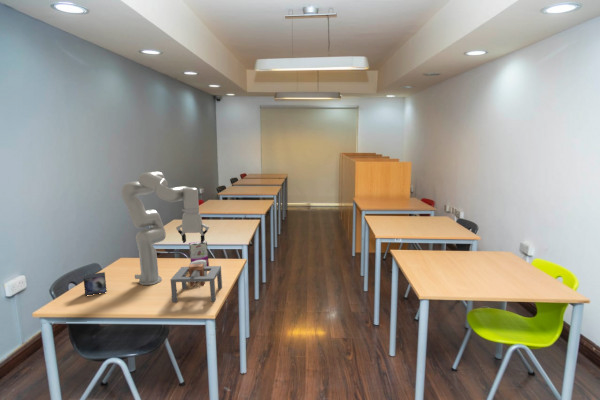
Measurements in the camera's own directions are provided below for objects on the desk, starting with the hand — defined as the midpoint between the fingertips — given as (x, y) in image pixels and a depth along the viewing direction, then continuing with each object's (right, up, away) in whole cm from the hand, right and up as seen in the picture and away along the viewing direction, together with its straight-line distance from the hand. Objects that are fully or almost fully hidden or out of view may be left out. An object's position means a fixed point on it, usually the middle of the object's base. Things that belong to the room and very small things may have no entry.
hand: (193, 242), depth 205 cm
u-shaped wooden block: (+2, -23, +1) cm, 23 cm away
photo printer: (-3, -25, +23) cm, 34 cm away
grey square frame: (+2, -29, +2) cm, 29 cm away
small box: (-56, -29, +7) cm, 63 cm away
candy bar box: (-9, -21, +47) cm, 53 cm away
